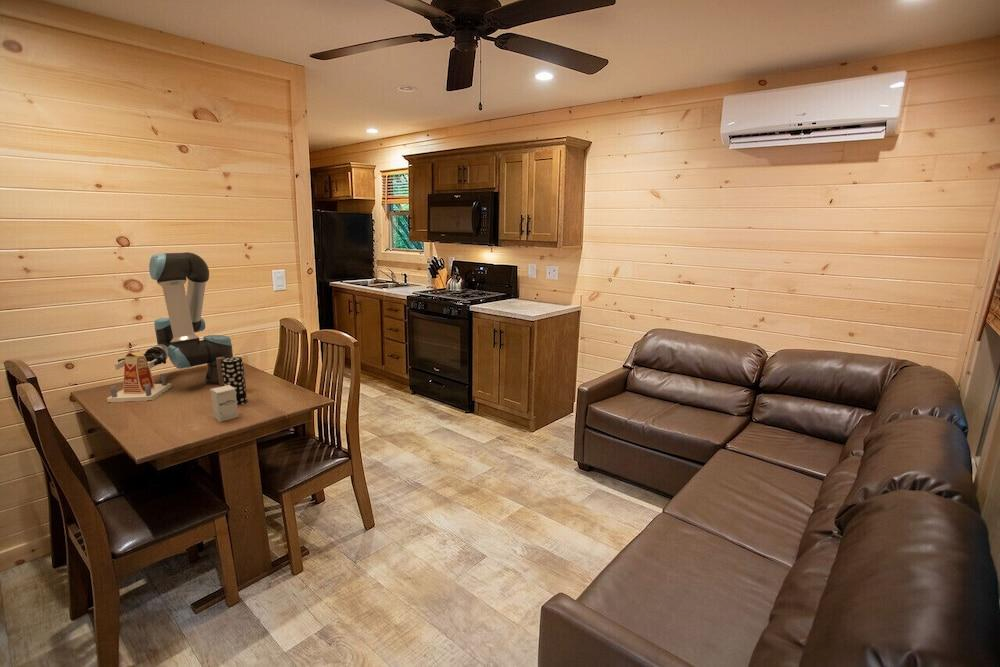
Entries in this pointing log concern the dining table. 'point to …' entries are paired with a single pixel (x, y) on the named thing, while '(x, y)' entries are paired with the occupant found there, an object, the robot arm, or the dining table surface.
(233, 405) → the supplement box
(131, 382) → the milk carton
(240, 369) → the white-spotted black cylinder
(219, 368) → the wooden block
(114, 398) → the peg platform
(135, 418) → the dining table surface
